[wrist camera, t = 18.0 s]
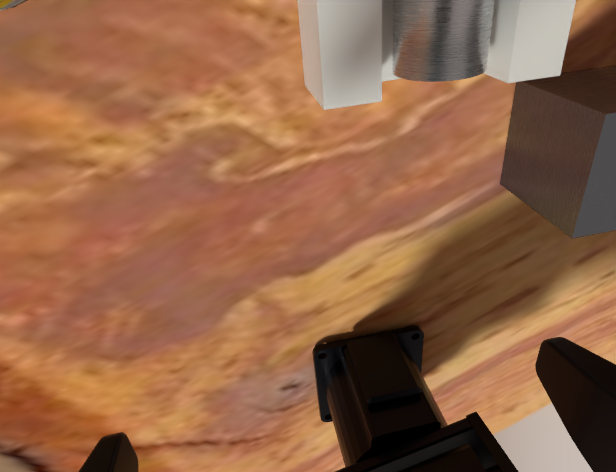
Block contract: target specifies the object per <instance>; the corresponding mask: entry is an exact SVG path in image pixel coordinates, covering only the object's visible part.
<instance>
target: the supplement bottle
mask: <svg viewBox="0 0 616 472" xmlns="http://www.w3.org/2000/svg"><path fill="white" fill-rule="evenodd" d="M25 1H27V0H0V10H4V9H8V8H12V7H16V6H17V5H19V4H21V3H23V2H25Z"/></svg>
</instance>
